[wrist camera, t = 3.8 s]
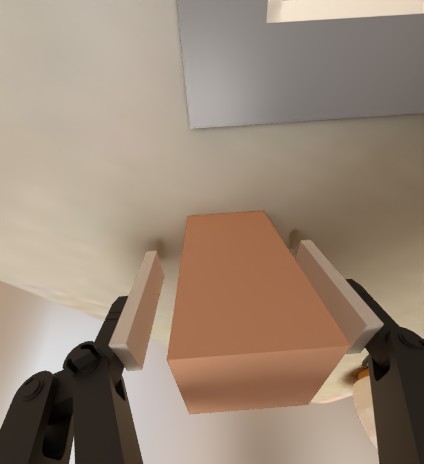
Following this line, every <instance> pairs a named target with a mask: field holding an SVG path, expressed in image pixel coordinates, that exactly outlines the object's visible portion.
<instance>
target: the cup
mask: <svg viewBox="0 0 424 464" xmlns="http://www.w3.org/2000/svg"><path fill="white" fill-rule="evenodd" d="M358 378H359V379H358V380H357V382H356V383H355V384H354V385H353V400H354V404H355V407H356V410H357V414H358V417H359V419H360V421H361V423H362V425H363V427H364V429H365V431H366V433H367V435H368V437H369V438H370V440H371V441H372V443H373V444H374V445H375V447H376V448H377V450H378V446H377V437H376V428H375V420H374V411H373V402H372V393H371V385H370V376H369V369H365V370H363V371H361V372H360V373H359V374H358Z"/></svg>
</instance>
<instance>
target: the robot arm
mask: <svg viewBox="0 0 424 464" xmlns="http://www.w3.org/2000/svg"><path fill="white" fill-rule="evenodd" d="M295 260H296V262H297V263H298V265H299V266H300V268H301V269H302V271H303V272H304V274H305V275H306V277H307V279H308V280H309V282H310V283H311V285H312V286H313V288H314V289H315V291H316V292H317V294H318V296H319V297H320V299H321V300H322V302H323V303H324V305H325V306H326V308H327V309H328V311H329V313H330V314H331V316H332V317H333V319H334V320H335V322H336V323H337V325H338V326H339V328H340V330H341V331H342V333H343V334H344V336H345V337H346V339H347V340H348V342H349V344H350V345H351V346H350V348H349V349H348V351H347V352H346V354H353V353H361V351H362V350H363V349H364V348H366V349H367V351H368V352H369V355H368V356H367V357H366V358H365V359H364V360H363V362H362V366H364V367H365V365H366V364H367V363H368V369H369V376H370V385H371V393H372V402H373V411H374V420H375V428H376V437H377V446H378V454H379V463H380V464H424V339H422V338H421V337H420V336H419V335H417V334H416V333H414V332H413V331H411V330H408V329H406V328H403V327H400V326H399V325H398V324H396V322H395V321H394V320H393V319H392V318H391V317H390V316H389V315H388V314H387V313H386V312H385V311H384V310H383V309H382V307H381V306H380V305H379V304H378V303H377V302H376V301H375V300H373V298H372V297H371V296H370V295H369V294H368V293H367V291H366V290H365V289H364V288H363V287H362V286H361V285H360V284H358V283H357V282H355V281H354V280H352V279H344V278H343V277H342V275H341V274H340V273H339V272H338V271H337V270H336V268H335V267H334V266H333V265H332V264H331V263H330V262H329V260H328V259H327V258H326V257H325V256H324V255H323V254H322V252H321V251H320V250H319V249H318V248H317V247H316V246H315V244H314V243H313V242H312V241H311V240H300V244H299V248H298V252H297V255H296V259H295ZM163 279H164V274H163V271H162V267H161V264H160V260H159V257H158V253H157V251H147V252H146V254H145V257H144V259H143V262H142V264H141V267H140V269H139V272H138V274H137V276H136V279H135V281H134V284H133V286H132V289H131V291H130V294H129V296H121V297H118V299H117V300H116V301H115V302H114V303H113V304H112V306H111V308H110V310H109V312H108V314H107V317H106V319H105V321H104V323H103V325H102V327H101V329H100V331H99V334H98V336H97V338H96V340H95V342H93V341H87V342H84V343H81V344H79V345H78V346H77V347H75V348H74V349H73V350H72V351H71V352H70V353H69V354H68V356H67V357H66V359H65V361H64V364H63V369H64V370H62V371H59V372H57V373H55V374H52V373H51V372H49V371H41V372H38V373H36V374H35V375H33V376H31V377H30V378H29V379H28V380H26V381H25V382H24V383H23V384H22V386H21V387H20V388H19V389H18V391H17V392H16V394H15V396H14V398H13V400H12V403H11V405H10V408H9V410H8V412H7V415H6V417H5V419H4V422H3V424H2V427H1V429H0V464H69V460H70V455H71V448H72V443H73V437H74V446H75V464H143V461H142V456H141V452H140V448H139V444H138V439H137V435H136V431H135V427H134V422H133V418H132V414H131V410H130V405H129V401H128V397H127V392H126V388H125V384H124V380H123V377H122V372H123V369H124V367H125V368H126V370H127V371H135V370H142V368H143V364H144V359H145V355H146V351H147V346H148V342H149V338H150V334H151V330H152V325H153V321H154V317H155V313H156V309H157V304H158V300H159V296H160V292H161V287H162V283H163Z"/></svg>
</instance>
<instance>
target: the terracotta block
mask: <svg viewBox="0 0 424 464" xmlns="http://www.w3.org/2000/svg"><path fill="white" fill-rule="evenodd" d="M350 346H351V345H350V344H349V342H348V340H347V339H346V337H345V336H344V334H343V333H342V331H341V330H340V328H339V326H338V325H337V323H336V322H335V320H334V319H333V317H332V316H331V314H330V313H329V311H328V309H327V308H326V306H325V305H324V303H323V302H322V300H321V299H320V297H319V296H318V294H317V292H316V291H315V289H314V288H313V286H312V285H311V283H310V282H309V280H308V279H307V277H306V275H305V274H304V272H303V271H302V269H301V268H300V266H299V265H298V263H297V262H296V260H295V258H294V257H293V255H292V254H291V252H290V251H289V249H288V248H287V246H286V245H285V243H284V241H283V240H282V238H281V237H280V235H279V234H278V232H277V231H276V229H275V228H274V226H273V224H272V223H271V221H270V220H269V218H268V217H267V215H266V214H265V212H264V211H250V212H236V213H221V214H207V215H193V216H188V217H187V224H186V231H185V238H184V244H183V251H182V258H181V265H180V272H179V279H178V286H177V293H176V300H175V307H174V314H173V321H172V328H171V335H170V342H169V349H168V355H167V361H168V364H169V366H170V369H171V371H172V374H173V376H174V378H175V380H176V383H177V385H178V388H179V390H180V392H181V395H182V397H183V400H184V402H185V405H186V407H187V409H188V412H189V414H199V413H212V412H223V411H237V410H249V409H261V408H274V407H287V406H299V405H308V404H309V403H310V401H311V400H312V399H313V397H314V396H315V395H316V393H317V392H318V390H319V389H320V388H321V386H322V385H323V384H324V382H325V381H326V379H327V378H328V377H329V375H330V374H331V373H332V371H333V370H334V368H335V367H336V366H337V364H338V363H339V362H340V360H341V359H342V357H343V356H344V355H345V353H346V352H347V351H348V349H349V348H350Z"/></svg>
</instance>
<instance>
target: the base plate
mask: <svg viewBox="0 0 424 464" xmlns="http://www.w3.org/2000/svg"><path fill="white" fill-rule="evenodd" d="M176 1H177V10H178V20H179V29H180V39H181V48H182V58H183V67H184V77H185V86H186V96H187V105H188V115H189V124H190V129H193V128H208V127H223V126H238V125H253V124H268V123H284V122H299V121H314V120H329V119H344V118H359V117H374V116H390V115H405V114H420V113H424V0H176Z"/></svg>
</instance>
